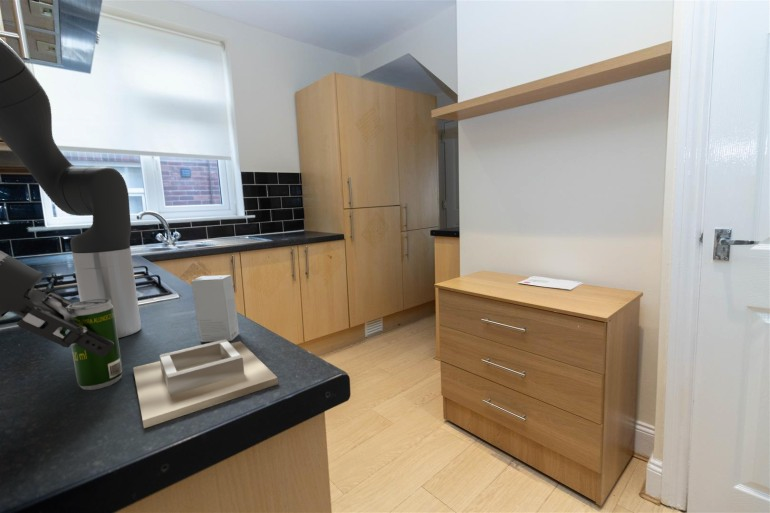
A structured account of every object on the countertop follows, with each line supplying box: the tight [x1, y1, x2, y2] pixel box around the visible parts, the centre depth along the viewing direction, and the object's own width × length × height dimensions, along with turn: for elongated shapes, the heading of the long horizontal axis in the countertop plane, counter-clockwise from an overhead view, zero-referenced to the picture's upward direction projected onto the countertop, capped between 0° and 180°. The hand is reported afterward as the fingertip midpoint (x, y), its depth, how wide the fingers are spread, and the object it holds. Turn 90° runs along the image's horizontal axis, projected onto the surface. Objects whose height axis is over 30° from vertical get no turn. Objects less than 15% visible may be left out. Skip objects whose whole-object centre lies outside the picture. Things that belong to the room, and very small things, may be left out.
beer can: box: [66, 299, 124, 391], centre depth 54 cm, size 5×5×12 cm
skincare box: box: [190, 274, 240, 343], centre depth 70 cm, size 6×4×12 cm
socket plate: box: [132, 339, 279, 429], centre depth 54 cm, size 18×16×4 cm
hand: (109, 342), depth 55 cm, fingers open, 7 cm apart
